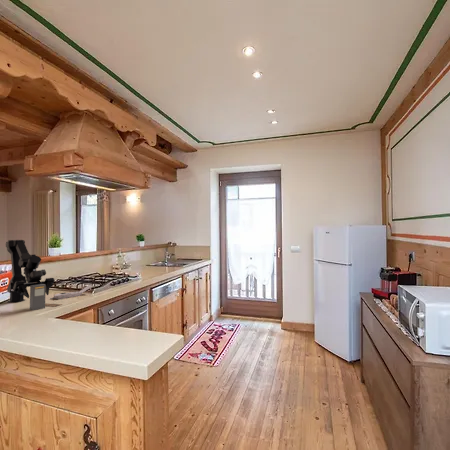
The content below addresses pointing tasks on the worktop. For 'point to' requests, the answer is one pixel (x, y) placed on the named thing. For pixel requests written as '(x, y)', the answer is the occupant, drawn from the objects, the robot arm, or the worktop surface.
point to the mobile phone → (71, 294)
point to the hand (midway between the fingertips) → (38, 296)
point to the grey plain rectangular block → (37, 296)
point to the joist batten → (52, 305)
